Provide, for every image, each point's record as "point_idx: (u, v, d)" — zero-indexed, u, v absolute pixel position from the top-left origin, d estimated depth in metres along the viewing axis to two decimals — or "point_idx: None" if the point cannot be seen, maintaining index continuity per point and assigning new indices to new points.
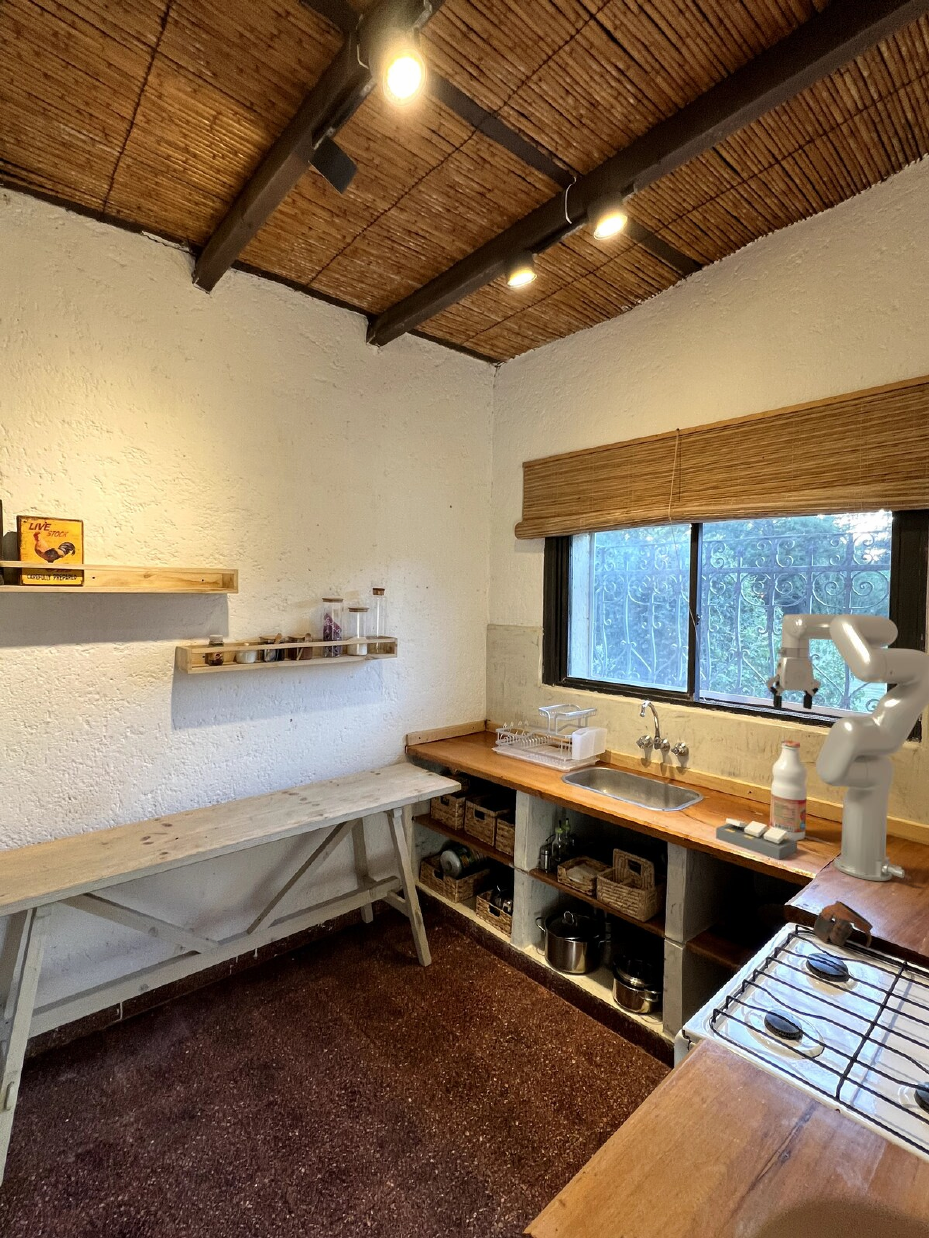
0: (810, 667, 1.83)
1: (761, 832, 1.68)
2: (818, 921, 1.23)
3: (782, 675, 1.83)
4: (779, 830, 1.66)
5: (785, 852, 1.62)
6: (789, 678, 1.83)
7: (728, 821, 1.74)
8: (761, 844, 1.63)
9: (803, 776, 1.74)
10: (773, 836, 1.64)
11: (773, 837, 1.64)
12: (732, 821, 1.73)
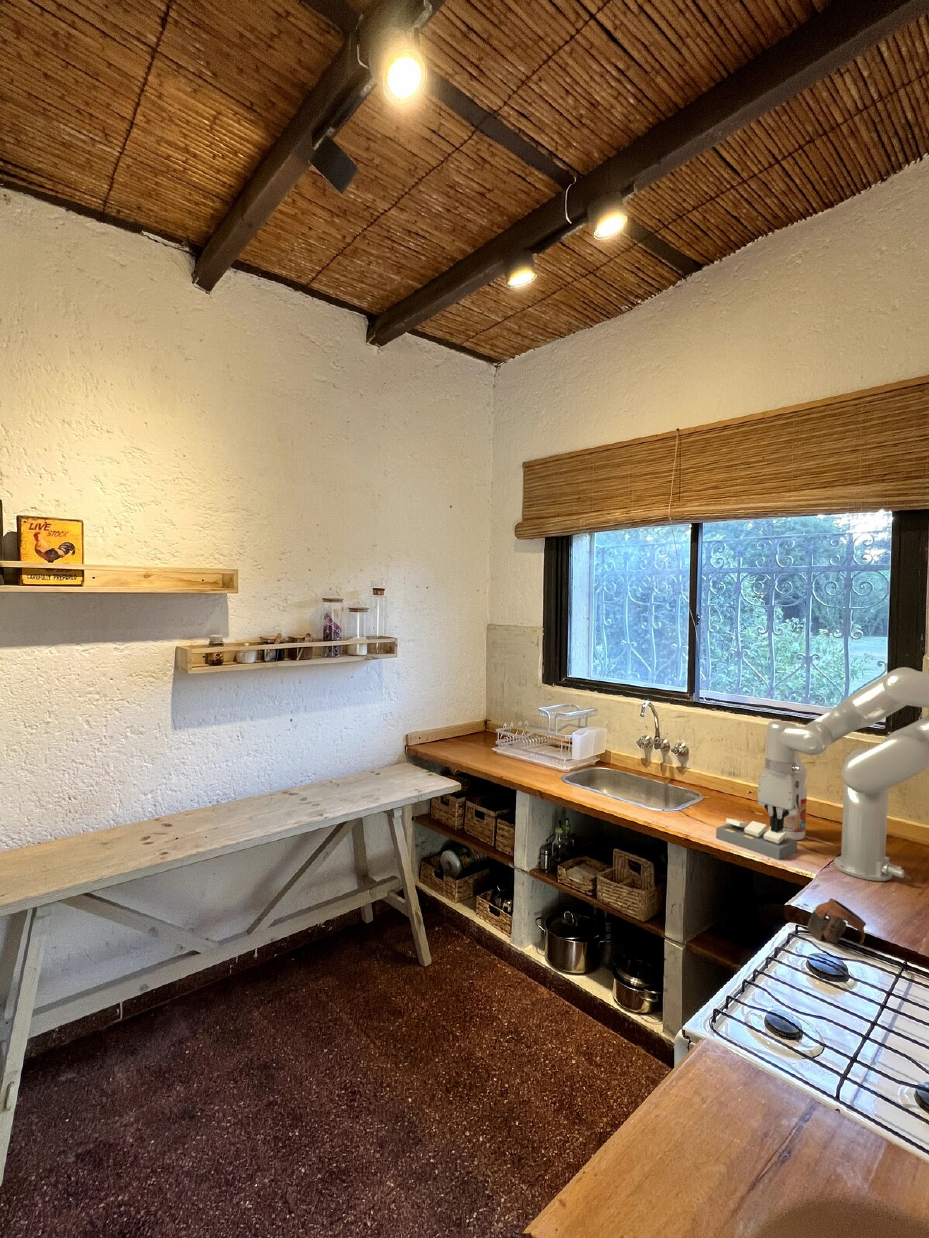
0: None
1: (761, 832, 1.68)
2: (812, 919, 1.23)
3: (800, 793, 1.64)
4: (779, 830, 1.66)
5: (785, 852, 1.62)
6: None
7: (728, 821, 1.74)
8: (761, 844, 1.63)
9: (803, 776, 1.74)
10: (773, 836, 1.64)
11: (773, 837, 1.64)
12: (732, 821, 1.73)
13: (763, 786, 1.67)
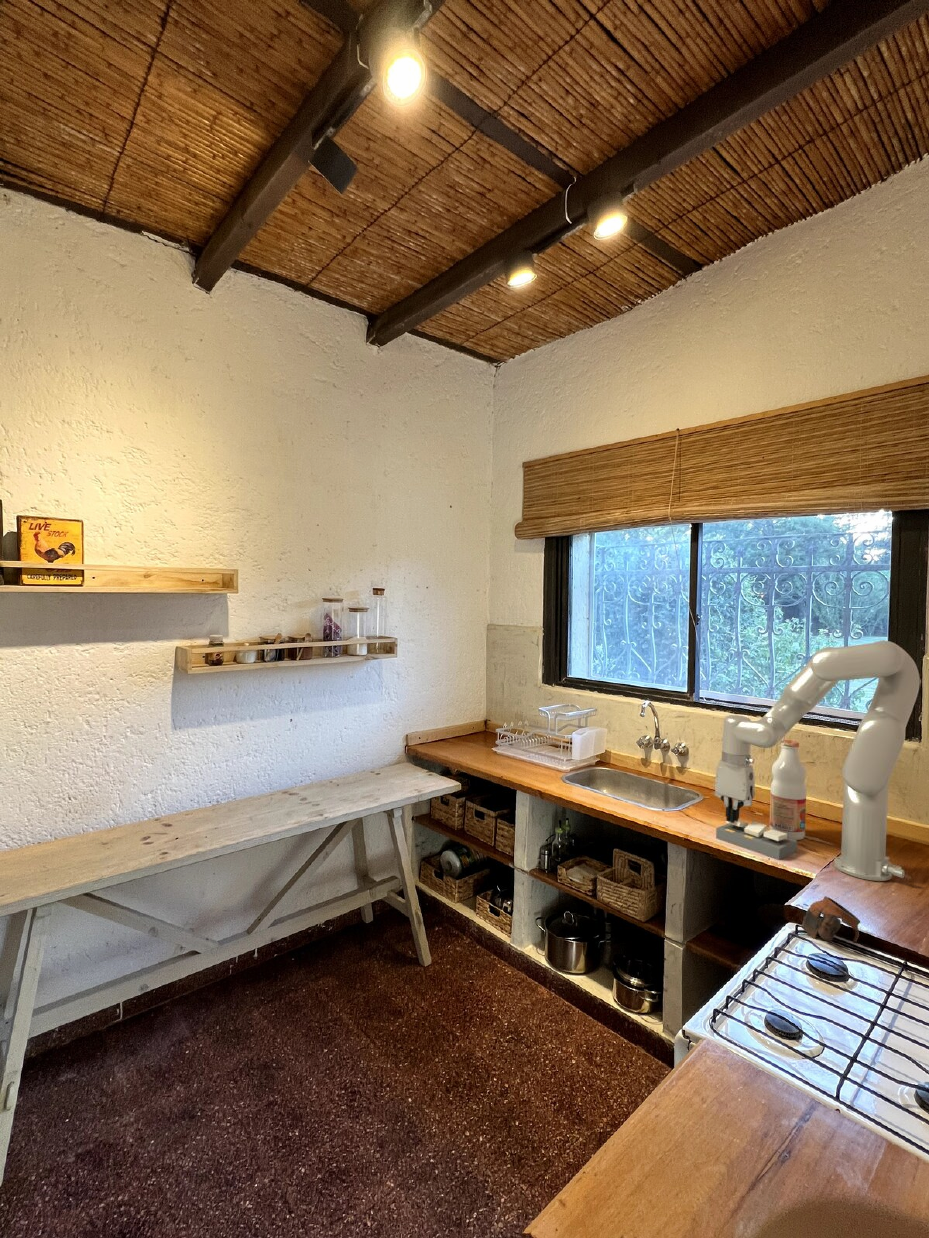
0: None
1: (761, 832, 1.68)
2: (807, 917, 1.24)
3: (754, 784, 1.70)
4: (779, 832, 1.66)
5: (785, 852, 1.62)
6: None
7: (728, 821, 1.74)
8: (761, 844, 1.63)
9: (802, 776, 1.74)
10: (773, 834, 1.64)
11: (773, 834, 1.64)
12: None
13: (719, 778, 1.74)
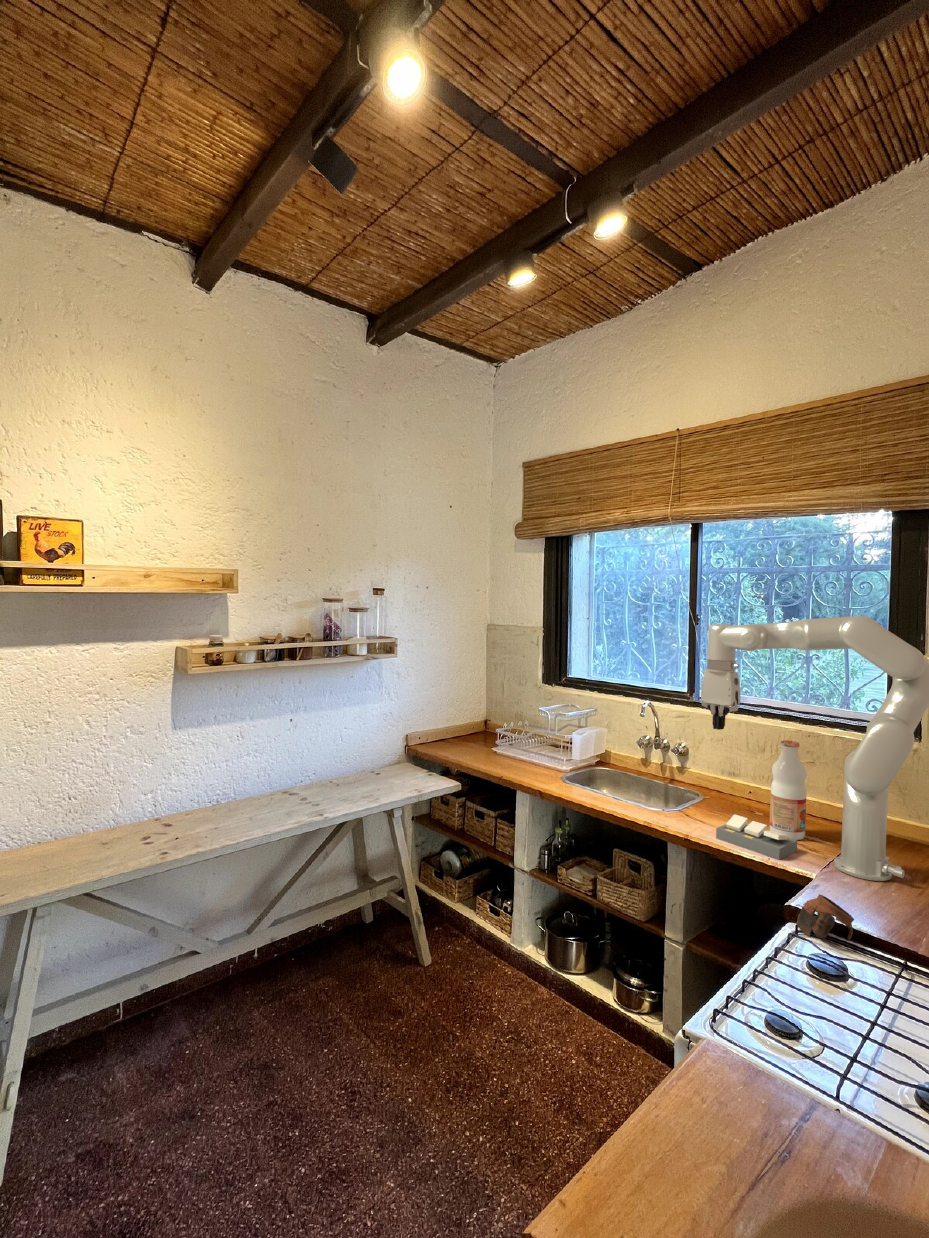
0: None
1: (761, 832, 1.68)
2: (801, 915, 1.25)
3: (739, 690, 1.71)
4: (779, 833, 1.66)
5: (785, 852, 1.62)
6: None
7: (728, 826, 1.74)
8: (761, 844, 1.63)
9: (802, 776, 1.74)
10: (774, 833, 1.64)
11: (773, 833, 1.64)
12: (732, 826, 1.73)
13: (705, 686, 1.75)
